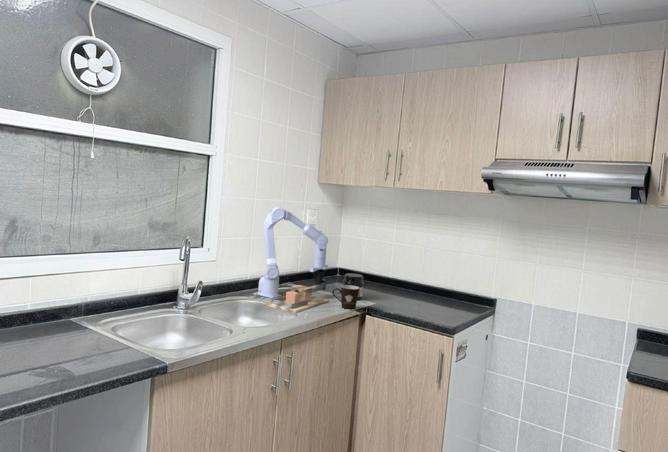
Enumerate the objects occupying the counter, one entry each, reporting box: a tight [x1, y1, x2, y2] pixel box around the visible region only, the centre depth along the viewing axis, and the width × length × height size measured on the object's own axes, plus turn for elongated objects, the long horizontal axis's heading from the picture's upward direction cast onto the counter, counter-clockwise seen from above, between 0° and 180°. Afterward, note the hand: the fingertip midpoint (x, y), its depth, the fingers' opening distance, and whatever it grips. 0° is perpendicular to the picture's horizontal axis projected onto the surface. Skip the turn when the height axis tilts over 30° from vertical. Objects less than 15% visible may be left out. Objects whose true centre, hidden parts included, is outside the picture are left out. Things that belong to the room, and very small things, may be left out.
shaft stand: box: [263, 284, 330, 313], centre depth 219 cm, size 17×29×8 cm, turn 150°
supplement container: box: [342, 273, 365, 301], centre depth 239 cm, size 10×10×12 cm
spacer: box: [285, 290, 299, 304], centre depth 215 cm, size 5×5×3 cm
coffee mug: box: [332, 284, 359, 310], centre depth 218 cm, size 12×9×10 cm
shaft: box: [297, 278, 327, 295], centre depth 228 cm, size 5×20×5 cm, turn 150°
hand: (317, 284), depth 234 cm, fingers closed
